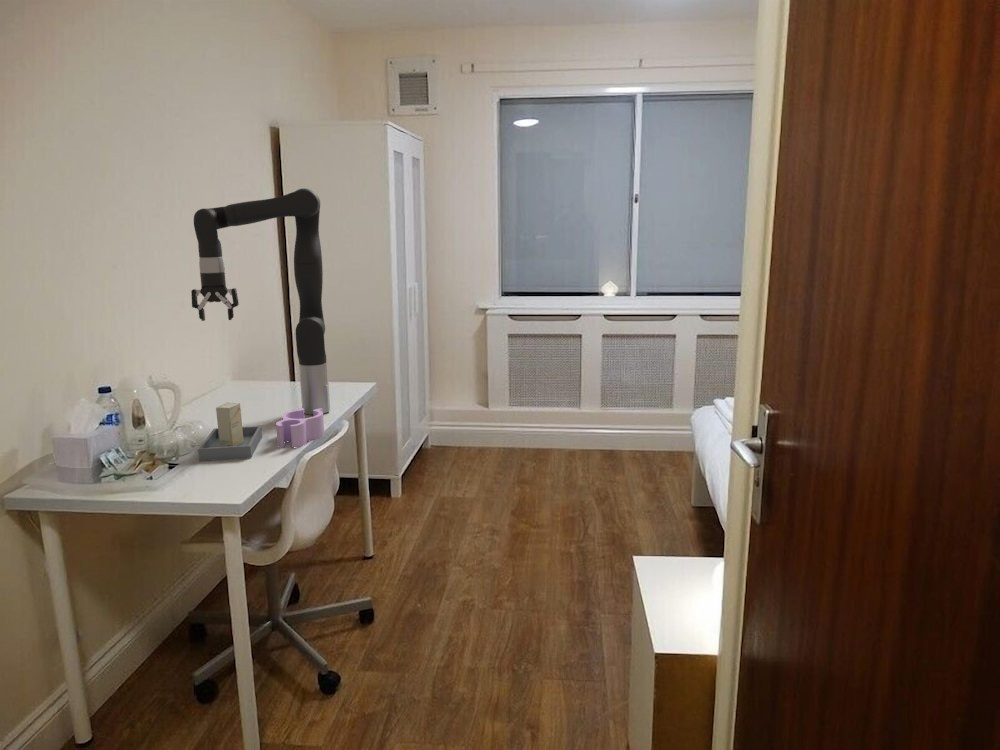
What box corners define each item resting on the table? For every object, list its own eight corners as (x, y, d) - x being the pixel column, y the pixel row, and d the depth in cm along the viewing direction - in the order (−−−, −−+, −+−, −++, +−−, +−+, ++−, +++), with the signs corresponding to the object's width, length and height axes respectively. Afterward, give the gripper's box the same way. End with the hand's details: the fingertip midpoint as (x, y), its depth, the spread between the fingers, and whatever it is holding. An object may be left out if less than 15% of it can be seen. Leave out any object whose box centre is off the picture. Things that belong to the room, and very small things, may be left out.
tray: (262, 436, 224) (261, 426, 223) (251, 457, 205) (250, 446, 204) (215, 439, 222) (213, 428, 221) (199, 461, 203) (198, 449, 202)
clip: (307, 449, 212) (305, 426, 211) (267, 447, 214) (265, 425, 212) (331, 429, 232) (330, 408, 230) (294, 428, 233) (292, 407, 232)
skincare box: (232, 448, 210) (229, 408, 207) (219, 447, 211) (215, 407, 208) (244, 441, 216) (240, 402, 213) (231, 441, 217) (227, 402, 214)
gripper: (186, 272, 232) (191, 322, 236) (232, 271, 234) (237, 321, 238) (192, 270, 239) (197, 319, 243) (237, 269, 241) (241, 317, 245)
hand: (216, 320), depth 240 cm, fingers open, 8 cm apart
